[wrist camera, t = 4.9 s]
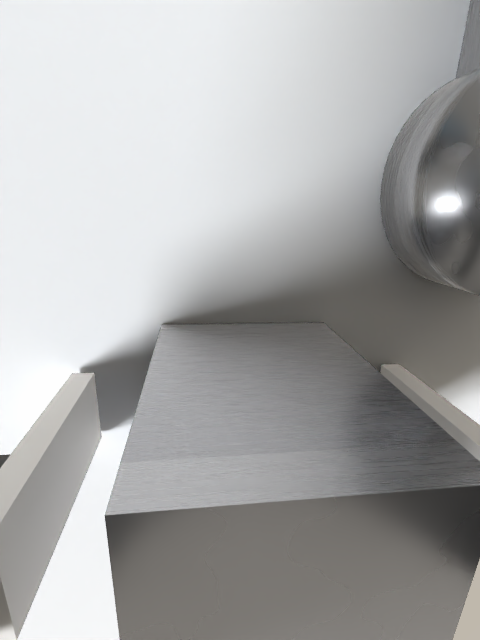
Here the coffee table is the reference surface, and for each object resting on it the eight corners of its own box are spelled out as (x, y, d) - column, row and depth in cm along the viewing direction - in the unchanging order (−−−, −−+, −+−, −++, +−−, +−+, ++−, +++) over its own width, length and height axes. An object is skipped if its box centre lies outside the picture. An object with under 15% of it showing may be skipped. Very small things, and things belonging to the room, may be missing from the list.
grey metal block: (167, 462, 14) (134, 762, 6) (161, 324, 12) (104, 515, 5) (308, 453, 15) (427, 712, 7) (323, 322, 13) (504, 483, 5)
